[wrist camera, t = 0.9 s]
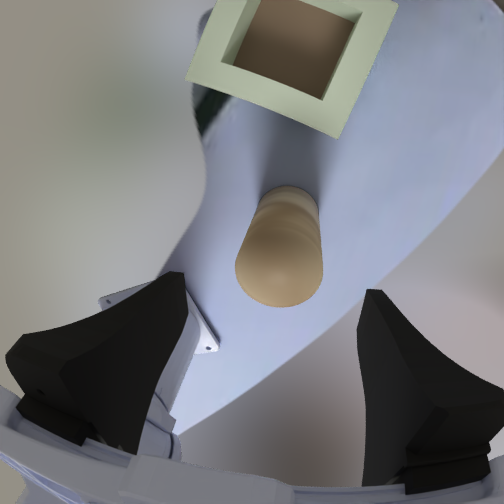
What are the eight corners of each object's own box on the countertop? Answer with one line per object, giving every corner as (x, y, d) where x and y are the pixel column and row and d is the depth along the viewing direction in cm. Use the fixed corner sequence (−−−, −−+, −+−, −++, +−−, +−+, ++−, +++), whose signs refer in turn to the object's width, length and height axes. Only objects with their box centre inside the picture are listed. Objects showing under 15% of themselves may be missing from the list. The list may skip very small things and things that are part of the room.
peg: (270, 250, 22) (255, 315, 16) (247, 197, 20) (220, 247, 14) (326, 232, 21) (333, 295, 14) (306, 177, 19) (306, 219, 13)
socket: (332, 133, 18) (337, 139, 15) (201, 81, 17) (184, 79, 15) (385, 17, 13) (398, 4, 11) (252, -33, 13) (243, -52, 10)
